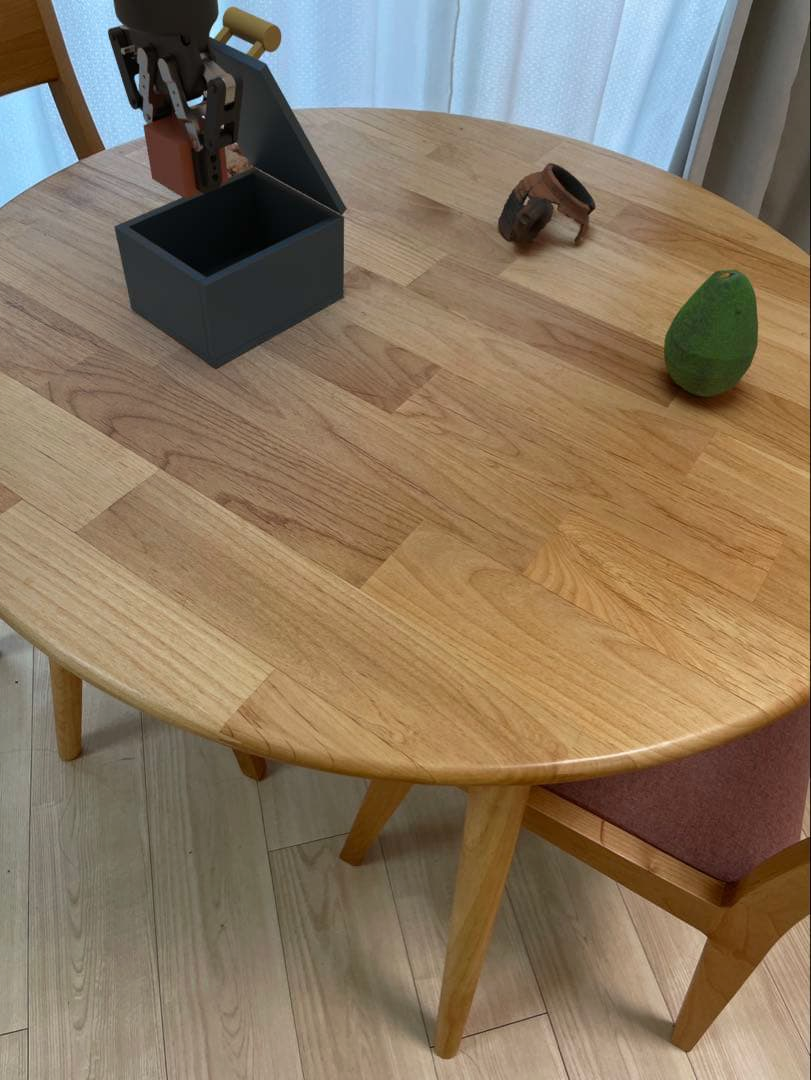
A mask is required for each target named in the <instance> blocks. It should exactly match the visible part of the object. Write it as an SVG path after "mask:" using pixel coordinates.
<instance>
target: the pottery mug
mask: <svg viewBox="0 0 811 1080" xmlns="http://www.w3.org/2000/svg"><path fill="white" fill-rule="evenodd" d="M527 198H528V199H527ZM526 200H527V202H526ZM525 202H526V203H525ZM554 205H556V206H557V208H556V211H557V212H559V213H560V214H563V215H564V216H566V217H567V218H569V219H573V220H574V221H575V222H576V223H578V224H580V227H579V230H578V233H577V234H576V236H575V238H574V240H573V241H574V242H573V243H574V244H579V243H581V241H582V239H583V238H584V237H585V234H586V232H587V230H588V226H589V221H590V215H591V213H592V212H593V211H595V210H596V209H597V207H596V202H595V200H594V198H593V197H592V195H591V194H590V192H589V191H588V190H587V188H586V187H585V185H583V184H582V182H581V181H579V180H578V179H577V177H576V176H574V175H573V174H572V173H571V172H570V171H568V170H567V169H566V168H564V167H562V166H561V165H558V164H556V163H553V162H549V163H547V164H546V165H545V166H544V168H543V170H542V171H536V172H532V173H530V174H527V175H525V176H524V177H523V178H522V179H521V180H519V182H518V184H516V185H515V187H514V188H513V189H512V190H511V193H510V194H509V195H508V198H507V199H506V201H505V203H504V205H503V208H502V211H501V213H500V216H499V217H498V219H497V222H498V223H497V225H498V227H499V228H498V229H499V231H500V233H501V234H502V236H503V237H504V238H505V239H506V240H507V241H511V240H512V238H513V234H514V235H515V237H516V238H517V240H518V241H519V242H521V243H525V244H530V245H531V244H533V243H534V241H535V240H536V239H537V237H538V236H539V234H540V233H541V231H542V230H543V229H545V227H546V226H547V224H549V223H550V222H551V220H552V217H553V214H554V211H555V207H554Z"/></svg>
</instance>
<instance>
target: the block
mask: <svg viewBox="0 0 811 1080" xmlns="http://www.w3.org/2000/svg"><path fill="white" fill-rule="evenodd" d="M198 124H199V127H200V130H201V132H204V131H205V117H204V116H202V117H199V119H198ZM221 129H224V127H222V126H221ZM143 133H144V138H145V139H144V140H145V144H146V151H147V156H148V157H147V158H148V162H149V169H150V173H151V174H150V175H151V179H152V180H153V181H155V182H157V183H158V184H160V185H162V186H163V187H165V188H167V189H168V190H169V191H172V192H173V193H174V194H177V195H178V196H180V197H181V198H182V197H183V198H185V199H188V198H190V197H192V196H195V195H197V194H200V193H202V192H200V191H198V190H197V189H196V184H195V176H194V169H193V161H192V153H191V149H192V148H193V147H192V145H191V142H190V139H189V136H188V132H187V129H186V126H185V123H184V122H183V121H181V120H179V119H178V117H177V115H176V113H175V114H173V115H170V116H168V117H165V118H162V119H159V120H157V121H154V122H151V123H148V124H147V123H145V124H143ZM220 160H221V170H222V183H221V184H223V183H225V182H228V174H227V163H226V153H225V147H223V148H220Z"/></svg>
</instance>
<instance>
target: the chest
mask: <svg viewBox="0 0 811 1080" xmlns="http://www.w3.org/2000/svg"><path fill="white" fill-rule="evenodd" d="M113 228H114V233H115V238H116V242H117V248H118V252H119V256H120V261H121V265H122V266H121V267H122V271H123V275H124V281H125V284H126V289H127V294H128V299H129V304H130V308H131V310H132V311H134V312H135V313H137V314H138V315H139V316H141V317H142V318H144V319H145V320H147V321H148V322H149V323H151V324H152V325H153V326H155V327H156V328H158V329H159V330H161V331H162V332H163V333H165V334H166V335H168V336H169V337H171V338H172V339H174V340H175V341H176V342H177V343H179V344H180V345H182V346H183V347H185V348H186V350H187V349H188V350H189V351H190V352H192V354H195V355H196V356H197V357H199V358H200V359H201V360H202V361H204V362H206V363H207V364H209V365H210V366H211V367H213V368H214V369H218V368H220V367H222V366H223V365H225V364H227V363H229V362H230V361H233V360H234V359H236V358H238V357H239V356H241V355H243V354H245V353H247V352H248V351H250V350H252V349H254V348H255V347H257V346H259V345H261V344H263V343H264V342H266V341H268V340H269V339H272V338H273V337H275V336H277V335H279V334H280V333H283V332H284V331H286V330H287V329H290V328H291V327H293V326H295V325H296V324H298V323H300V322H302V321H304V320H305V319H307V318H309V317H311V316H312V315H315V314H316V313H318V312H319V311H321V310H323V309H325V308H327V307H329V306H330V305H332V304H334V303H336V302H338V301H339V300H341V299H343V298H344V297H345V290H344V289H345V284H344V283H345V281H344V280H345V216H344V215H341V214H339V213H337V212H335V211H333V210H332V209H330V208H328V207H326V206H324V205H322V204H321V203H319V202H317V201H315V200H313V199H312V198H310V197H308V196H306V195H304V194H302V193H301V192H299V191H297V190H295V189H293V188H292V187H290V186H288V185H286V184H284V183H282V182H281V181H279V180H277V179H275V178H273V177H272V176H270V175H268V174H266V173H264V172H263V171H261V170H259V169H257V168H255V167H253V168H251V169H249V170H246V171H244V172H241V173H239V174H237V175H234V176H232V177H230V178H228V182H225V183H223V184H221V185H220V187H219V188H217V189H215V190H213V191H210V192H208V193H206V194H204V193H200V194H197V195H195V196H192V197H190V198H188V199H185V198H183V197H182V196H181V197H180V198H177V199H175V200H173V201H170V202H168V203H166V204H164V205H161V206H159V207H156V208H153V209H151V210H150V211H147V212H145V213H143V214H139V215H137V216H135V217H133V218H130V219H128V220H125V221H123V222H121V223H118V224H116V225H114V226H113Z"/></svg>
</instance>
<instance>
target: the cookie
mask: <svg viewBox="0 0 811 1080" xmlns="http://www.w3.org/2000/svg"><path fill="white" fill-rule="evenodd" d="M225 153H226V163H227V174H228V178H230V177H232V176H234V175H237V174H239V173H241V172H244V171H246V170H249V169H251V168H253V166H252V165H251V164H250V163H249V161H248V160H247V158H246V157H245V155H244V154H243V152H242V150H241V149H240V147H239V146H238V144H237V143H234V144H231V145H228V146H225Z"/></svg>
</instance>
